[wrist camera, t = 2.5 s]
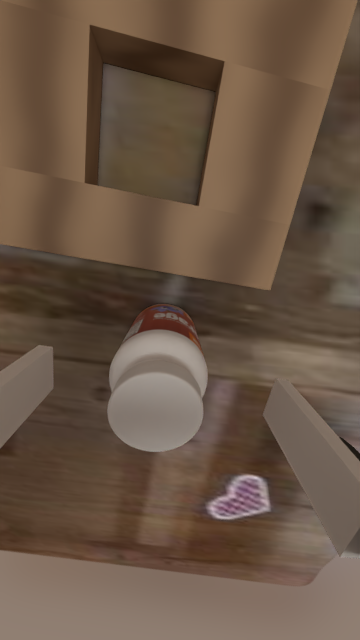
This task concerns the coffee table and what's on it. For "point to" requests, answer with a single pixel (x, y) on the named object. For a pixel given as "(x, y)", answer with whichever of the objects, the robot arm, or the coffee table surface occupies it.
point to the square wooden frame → (223, 140)
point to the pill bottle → (158, 381)
